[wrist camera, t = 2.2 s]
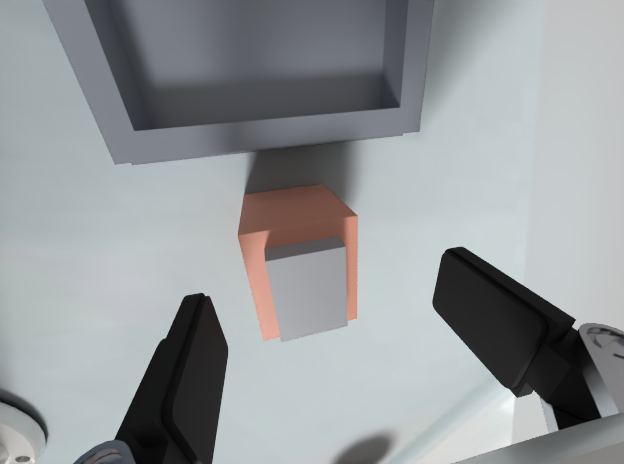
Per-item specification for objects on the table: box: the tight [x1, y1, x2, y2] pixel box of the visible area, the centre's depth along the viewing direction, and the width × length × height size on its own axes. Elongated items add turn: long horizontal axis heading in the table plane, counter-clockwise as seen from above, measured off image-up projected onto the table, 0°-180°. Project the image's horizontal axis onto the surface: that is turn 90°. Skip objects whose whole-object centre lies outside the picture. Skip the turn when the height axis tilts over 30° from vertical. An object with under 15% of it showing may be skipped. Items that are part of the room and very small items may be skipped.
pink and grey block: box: [238, 184, 358, 342], centre depth 13 cm, size 6×5×7 cm
